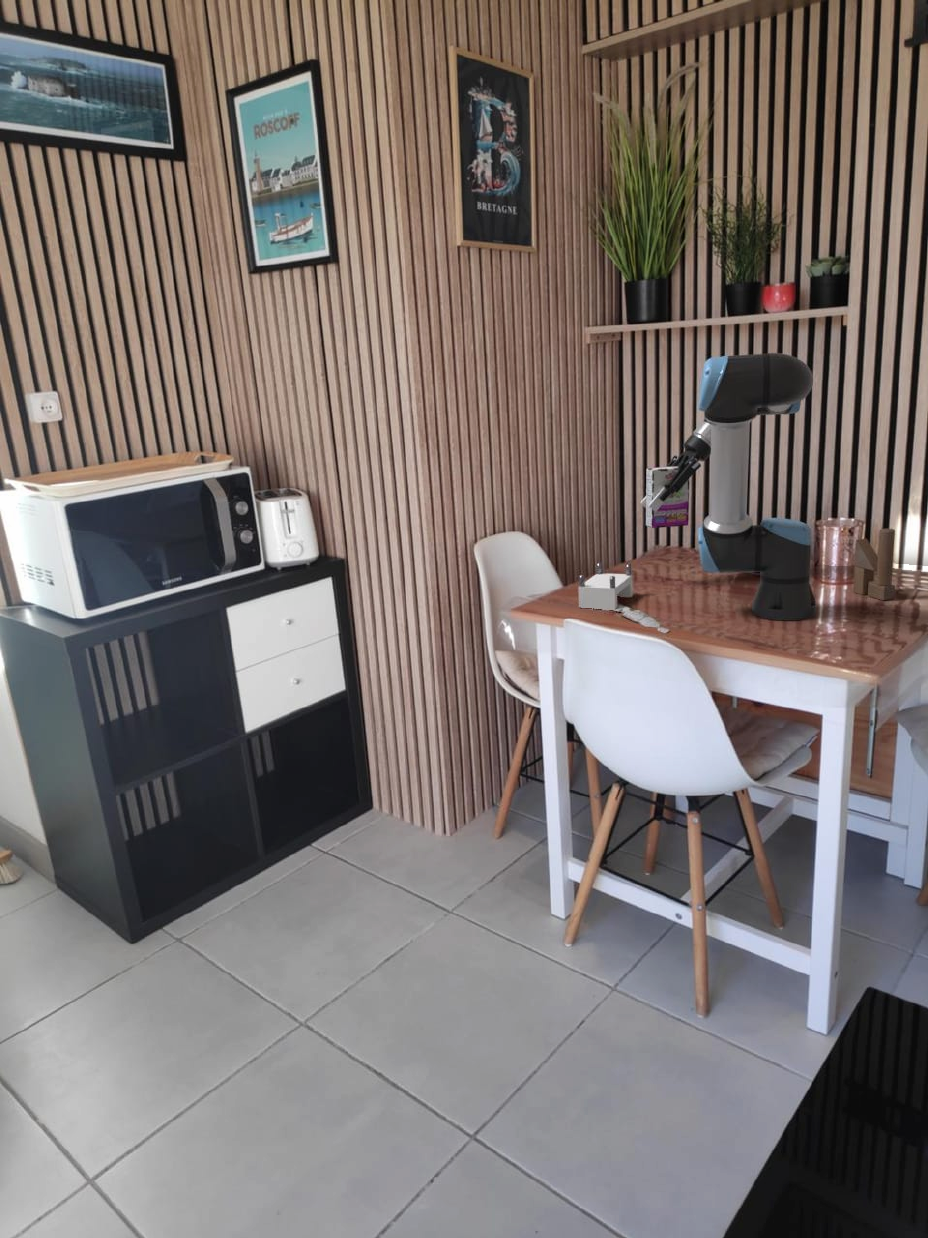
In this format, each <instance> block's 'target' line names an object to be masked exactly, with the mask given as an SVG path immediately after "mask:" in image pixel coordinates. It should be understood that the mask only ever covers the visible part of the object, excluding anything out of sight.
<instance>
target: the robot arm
mask: <svg viewBox="0 0 928 1238" xmlns="http://www.w3.org/2000/svg"><path fill="white" fill-rule="evenodd" d="M813 384H814V377H813V372H812V370H811V369H810V367H809V366H808V364H807V363H805V362H804V361H802V360H801V359H799V358H797V357H795V356H793V355H789V354H785V353H782V352H781V353H780V352H768V353H754V354H742V355H741V354H737V355H727V354H726V355H724V356H717V357H716V356H715V357H709V358H708V359H707V360H706V361H705V362H704V364H703V367H702V373H701V378H700V385H699V386H700V387H699V396H698V411H701V412H704V418H705V419H704V420H703V421H701V423H700V424H699V425H698V426H697V427H696V429H695V430H694V431H693V433H692V435H690V436H689V437H688V438H687V439H686V441H685V442H684V443H683V448H684V451H683V452H682V453H680V454H679V456H677V455H674V456H672V458H671V460H670V461H669V462H668V464H667V465H666V466H665V467H673V466H678V468H680V469H679V470H678V471H677V473H676V474H675V475H674V476H673V477H672V479H671V480H670V482H669V483H668V485H664V486H665V487H666V488H667V489H666V488H664V487H663V489H662V490H661V491H660V492H659V493H658V494H657V496H656V497H655V498H654V499H653V500H652V502H651V503H650V504H649V505H648V506H649V507H650V508H651V509H652V510H653V511H655V512H656V511H657V510H658V509H659V508H660V507H661V505H662V504H663V503H664V502H665V501H666V499H667V498H668V497H669V496H670V495H671V493H674V492H676V493H677V492H678V491H679V490H680V489H681V488H682V487H683V485H684V484H685V483H686V482H687V481H688V479H689V480H690V479H691V477H692V476H693V475H694V474H695V472H697V470H699V469H700V468H701V467H702V465H701V463H700V462H705V461H706V460H707V459H708V458H709V457H710V484H709V485H710V486H709V487H710V488H709V489H710V490H709V491H710V493H709V494H710V495H709V496H710V498H709V499H710V500H709V501H710V503H709V506H710V507H709V515H707V516H706V517H705V518H704V520H703V525H701V526H699V527H698V528H697V540H698V541H697V542H698V550H699V556H700V563H701V564H700V565H701V568H702V570H704V571H705V572H707V573H719V574H725V573H729V574H730V573H760V574H759V575H760V577H759V584H758V587H757V590H756V592H755V594H754V595H755V596H754V598H753V600H752V603H751V604H752V607H751V612H752V613H753V614H754V616H757V617H760V618H764V619H768V620H775V621H797V620H798V621H799V620H805V619H810V618H812V617H814V616H815V615H816V614H817V603H816V599H815V595H814V592H813V590H812V586H811V581H810V580H811V579H810V578H811V554H812V550H811V549H812V546H813V542H812V529H811V527H810V526H809V524H806V523H805V522H802V521H799V520H795V519H791V518H790V519H789V518H782V517H770V518H769V517H766V518H763V519H761V521H760V525H759V524H757V525H756V524H753V523H754V521H753V519H752V517H751V516H749V515H748V514H747V513H748V512H747V510H748V507H747V506H748V484H749V483H748V481H749V480H748V477H749V456H750V453H749V452H750V425H751V422H752V421H754V419H756V418H757V416H768V415H769V416H771V415H785V416H786V415H789V414H791V415H792V414H797V413H798V412H800V409H801V405H802V401H803V400H804V399H805V398H807V397H808V395H809V394H810V393H811V390H812V388H813ZM683 467H684V468H685V469H684V468H683ZM639 503H640V504H641V505H642V506H643V507H644V508H645V509H646V495H645V496H644V498H642V499H641V501H640V502H639Z"/></svg>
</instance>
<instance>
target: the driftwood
mask: <svg viewBox="0 0 928 1238" xmlns="http://www.w3.org/2000/svg"><path fill="white" fill-rule="evenodd" d="M616 611H617V612H616ZM612 612H616V613H620V615H621V616H623V617H624V618H626V619H628V620H631V622H636V623H638V624H639V626H641V627H643V626H644V627H647V628H648V627H649V628H657V631H658V632H660V633H661V632H662V633H663V634H666V633H668V632H669V631H670V629H668V628H667V627H663V626H662V623H661V622H659V621H658V620H657V619H656V618H653V617H652V616H650V615H649V614H646V612H644V611H641V609H640V610H639V609H635V610H634V609H633V608H631V607H629V606H626V605H623V604H620V603H617V608H616V609H615V610H613V611H612Z"/></svg>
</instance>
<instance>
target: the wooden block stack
mask: <svg viewBox="0 0 928 1238" xmlns="http://www.w3.org/2000/svg"><path fill="white" fill-rule="evenodd" d="M878 531H879V532H878V550H877V551H878V553H876V552H875V549H874V548H873V546H872V545H871V543H870V542H869V540H868V538H861V539H856V540H855V548H854V549H855V550H854V552H855V553H854V572H853V573H854V574H853V589H852V591H853V593H854V594H858V595H862V596H863V595H867V596H868V597H870V598H873V599H877V600H881V601H889V600H893V599H895V593H896V592H895V591H896V586H895V585H894V584H892V583H893V570H894V569H893V568H894V555H895V554H894V552H895V551H894V550H895V538H896V537H895V536H896V530H895V528H881V529H879V530H878ZM875 572H876V580H875V579H874V578H875Z"/></svg>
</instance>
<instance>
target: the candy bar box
mask: <svg viewBox="0 0 928 1238" xmlns="http://www.w3.org/2000/svg"><path fill="white" fill-rule="evenodd" d="M683 468H684V467H683ZM679 469H680V468H678V466H673V467H666V466H663V467H662V466H661V467H647V468H646V474H645V475H646V482H645V483H646V484H645V485H646V488H645V492H646V493H645V494H646V495H645V496H646V508H645V526H646V527H648V528H651V529H659V528H670V527H671V528H673V527H683V526H684V527H686V526H689V515H690V514H689V511H690V510H689V507H690V478H689V479H688V481H687V482H686V483H685V484H684V485H683V487H682V488H681V489H680V490H679V491H678V492H677V493H676V492H674V493H671V495H670V496H669V497H668V498H667V499H666V501H665V502H664V503H663V504H662V505H661V507H660V508H659V509H658V510H657V511H656V512H655V511H653V510H652V509H651V508H650V507H649V506H648V505H649V504H650V503H651V502H652V500H653V499H654V498H655V497H656V496H657V494H658V493H659V492H660V491H661V490H662V489H663V487H664V488H666V487H665V486H664V485H668V483H669V482H670V480H671V479H672V477H673V476H674V475H675V474H676V473H677V471H678V470H679ZM684 469H685V468H684ZM666 489H667V488H666Z"/></svg>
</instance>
